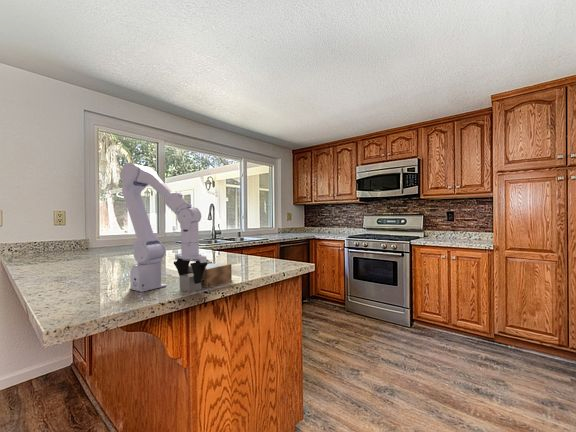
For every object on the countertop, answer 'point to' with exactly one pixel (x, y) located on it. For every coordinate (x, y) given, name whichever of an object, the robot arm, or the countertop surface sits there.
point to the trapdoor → (206, 266)
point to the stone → (188, 283)
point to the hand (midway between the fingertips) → (190, 281)
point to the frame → (215, 275)
